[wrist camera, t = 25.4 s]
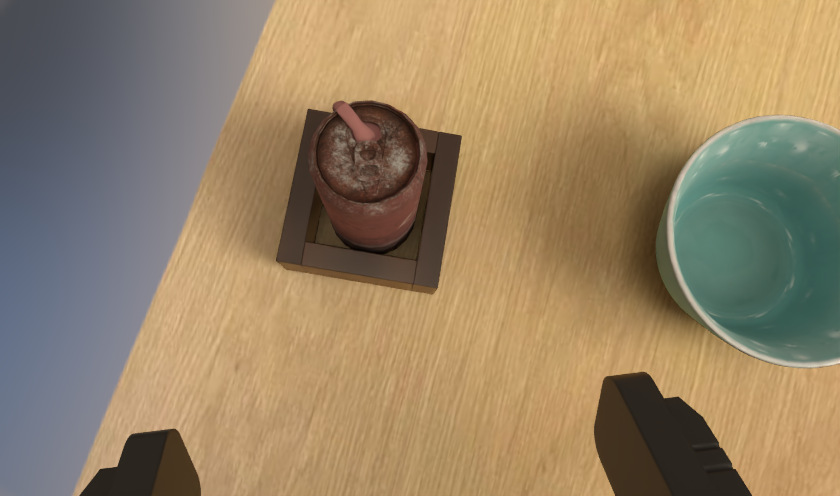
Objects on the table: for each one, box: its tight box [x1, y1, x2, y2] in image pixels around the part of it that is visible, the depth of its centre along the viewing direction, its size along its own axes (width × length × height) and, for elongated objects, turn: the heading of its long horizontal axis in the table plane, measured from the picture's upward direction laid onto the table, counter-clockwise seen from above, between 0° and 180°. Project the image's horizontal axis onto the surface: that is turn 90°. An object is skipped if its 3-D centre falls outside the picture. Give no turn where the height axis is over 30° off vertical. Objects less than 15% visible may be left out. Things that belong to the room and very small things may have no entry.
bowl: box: [656, 115, 840, 368], centre depth 40 cm, size 16×16×8 cm
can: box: [308, 101, 427, 254], centre depth 37 cm, size 6×6×14 cm
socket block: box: [276, 109, 462, 294], centre depth 41 cm, size 11×11×4 cm
